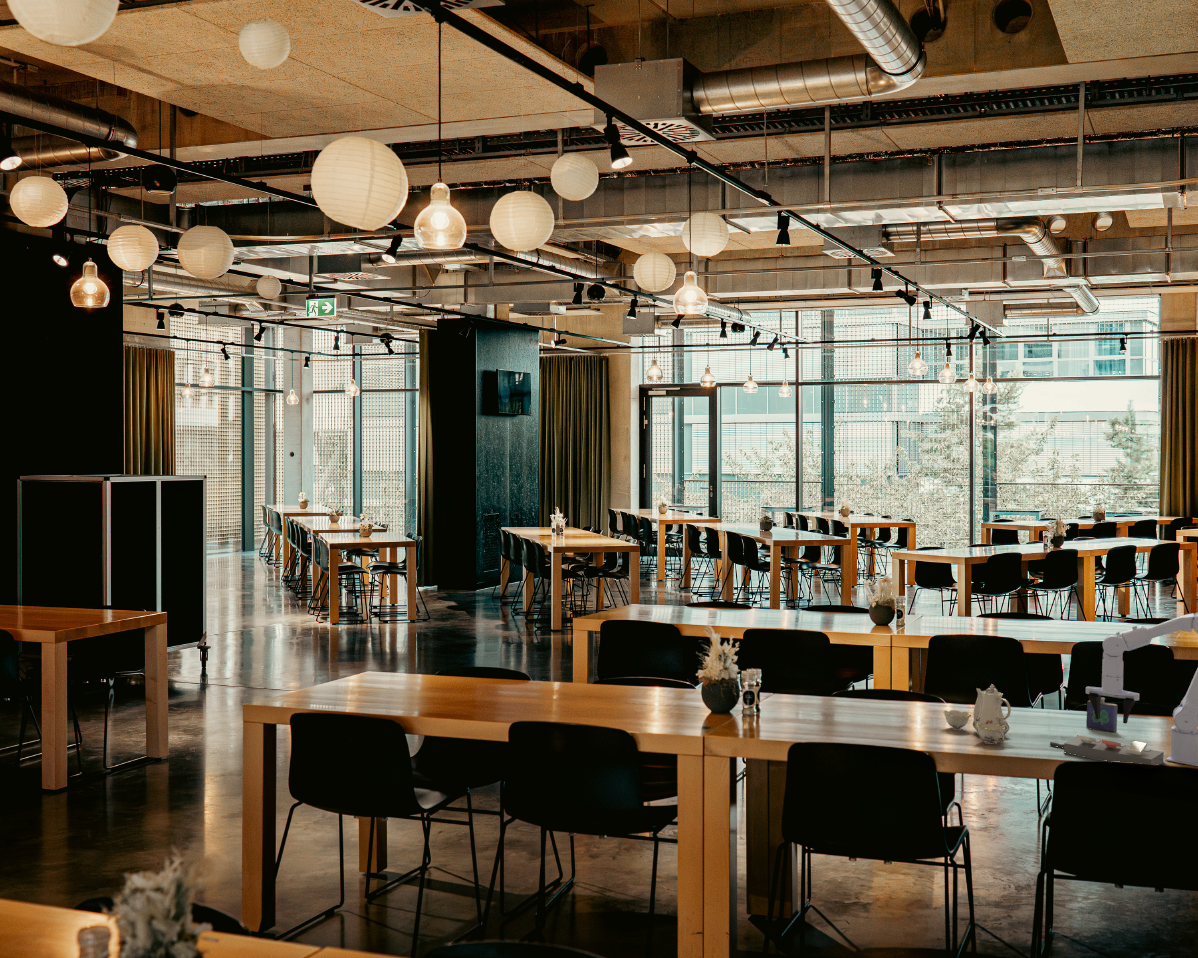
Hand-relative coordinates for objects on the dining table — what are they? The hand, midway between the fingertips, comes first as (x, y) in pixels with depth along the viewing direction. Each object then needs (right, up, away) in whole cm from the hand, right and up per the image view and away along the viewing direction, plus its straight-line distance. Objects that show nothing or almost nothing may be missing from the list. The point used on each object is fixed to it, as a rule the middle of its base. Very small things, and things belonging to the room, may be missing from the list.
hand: (1111, 720), depth 323 cm
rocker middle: (-4, -6, -8) cm, 11 cm away
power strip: (-5, -9, -4) cm, 11 cm away
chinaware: (-33, -9, +17) cm, 38 cm away
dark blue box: (+10, -10, +28) cm, 31 cm away
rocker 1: (-9, -6, -4) cm, 11 cm away
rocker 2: (+1, -6, -13) cm, 14 cm away
